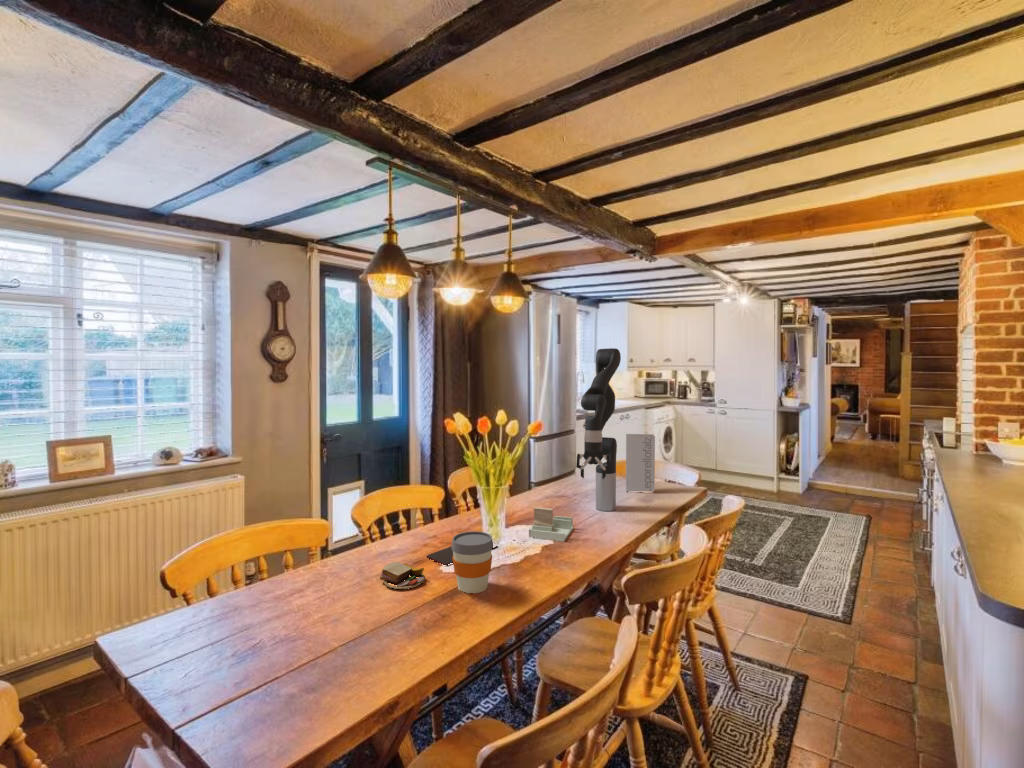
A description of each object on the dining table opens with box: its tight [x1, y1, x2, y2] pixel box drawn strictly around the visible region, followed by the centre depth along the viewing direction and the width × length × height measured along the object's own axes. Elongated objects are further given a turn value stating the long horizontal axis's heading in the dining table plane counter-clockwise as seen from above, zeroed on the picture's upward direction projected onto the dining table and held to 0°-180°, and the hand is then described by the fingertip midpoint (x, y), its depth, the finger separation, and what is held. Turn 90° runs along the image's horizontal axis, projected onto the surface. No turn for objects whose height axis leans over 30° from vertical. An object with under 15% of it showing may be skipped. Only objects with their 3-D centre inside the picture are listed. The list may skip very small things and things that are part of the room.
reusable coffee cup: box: [451, 530, 494, 594], centre depth 150 cm, size 13×13×15 cm
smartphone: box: [425, 545, 453, 566], centre depth 178 cm, size 12×2×25 cm
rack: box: [528, 515, 574, 543], centre depth 198 cm, size 16×14×4 cm
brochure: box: [625, 433, 656, 491], centre depth 260 cm, size 14×6×30 cm, turn 81°
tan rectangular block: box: [533, 506, 554, 532], centre depth 194 cm, size 2×7×10 cm, turn 70°
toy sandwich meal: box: [379, 561, 426, 590], centre depth 155 cm, size 12×14×5 cm
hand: (593, 478), depth 213 cm, fingers open, 8 cm apart
